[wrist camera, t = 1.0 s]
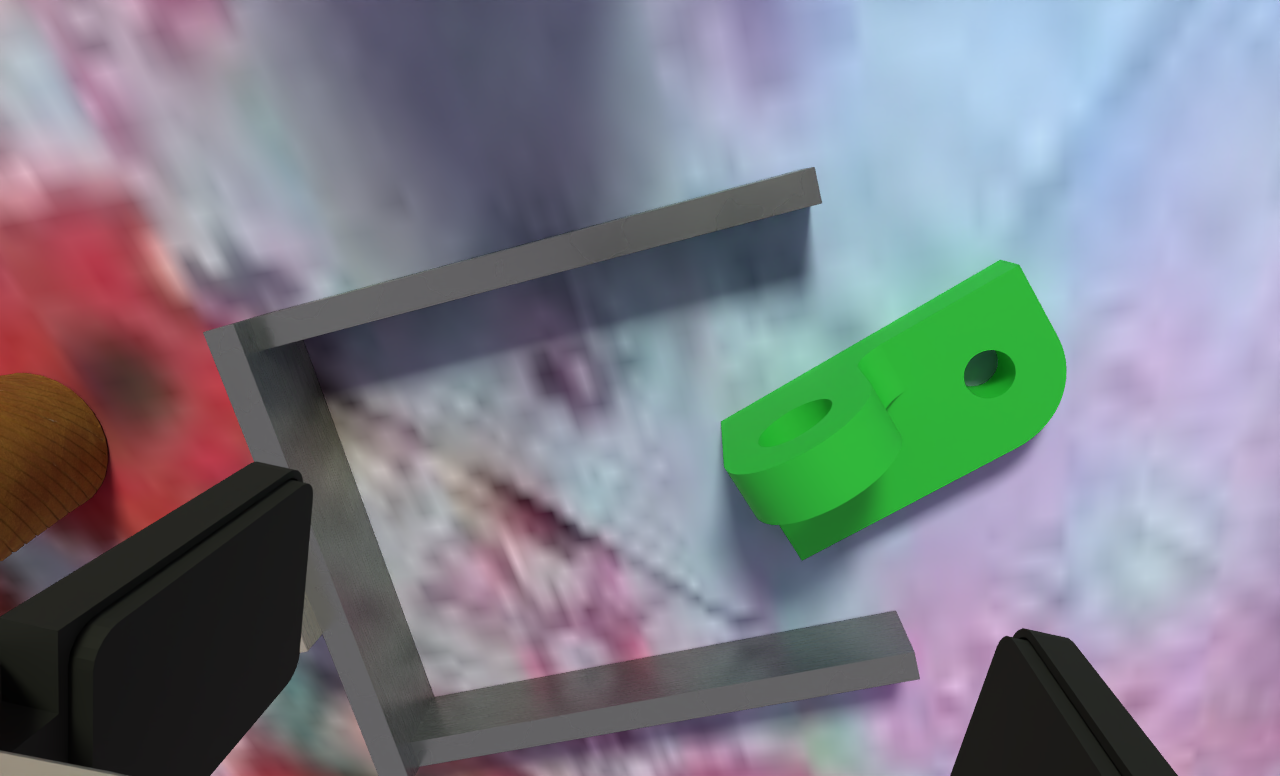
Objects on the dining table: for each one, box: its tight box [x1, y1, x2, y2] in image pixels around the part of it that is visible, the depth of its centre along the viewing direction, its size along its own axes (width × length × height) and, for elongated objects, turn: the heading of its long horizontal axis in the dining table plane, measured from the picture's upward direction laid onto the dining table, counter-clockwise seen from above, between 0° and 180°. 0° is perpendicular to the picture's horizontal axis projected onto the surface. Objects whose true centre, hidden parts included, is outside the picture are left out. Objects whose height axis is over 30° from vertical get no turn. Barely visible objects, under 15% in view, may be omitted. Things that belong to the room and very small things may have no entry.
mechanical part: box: [721, 260, 1066, 560], centre depth 27 cm, size 12×6×8 cm, turn 123°
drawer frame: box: [203, 167, 920, 776], centre depth 30 cm, size 24×20×5 cm
